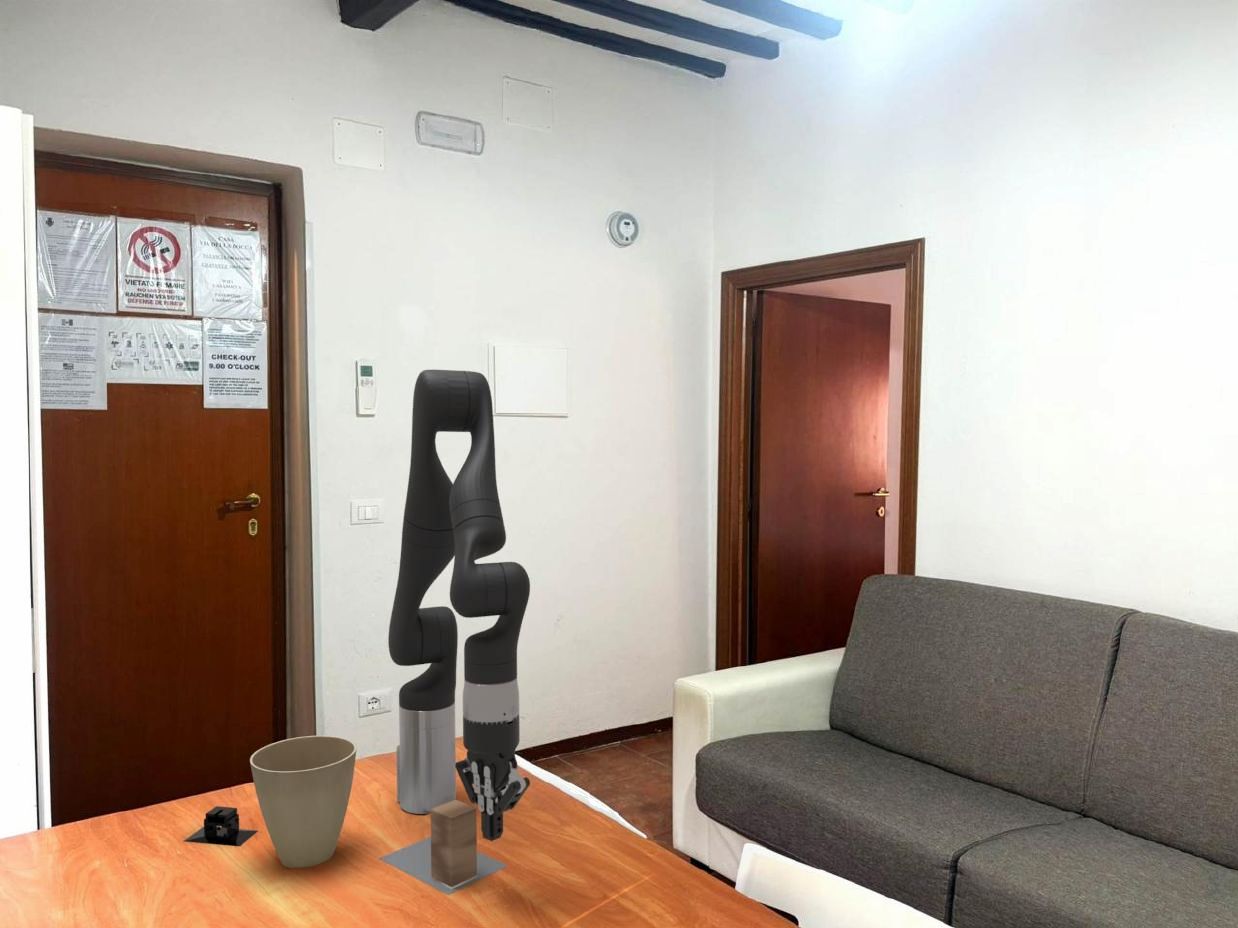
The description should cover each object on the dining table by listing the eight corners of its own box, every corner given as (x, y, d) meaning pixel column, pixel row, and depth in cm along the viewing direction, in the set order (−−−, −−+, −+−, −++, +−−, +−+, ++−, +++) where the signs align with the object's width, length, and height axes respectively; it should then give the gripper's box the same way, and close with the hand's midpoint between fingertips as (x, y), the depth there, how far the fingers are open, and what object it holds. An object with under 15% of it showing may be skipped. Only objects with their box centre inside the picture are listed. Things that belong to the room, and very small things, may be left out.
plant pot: (328, 826, 152) (326, 728, 151) (376, 857, 141) (375, 752, 140) (235, 857, 141) (232, 751, 140) (279, 893, 131) (277, 779, 130)
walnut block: (431, 878, 134) (430, 809, 133) (456, 867, 137) (455, 799, 137) (451, 889, 131) (451, 818, 130) (476, 877, 134) (476, 807, 134)
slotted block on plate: (171, 846, 146) (170, 816, 146) (200, 825, 153) (199, 797, 153) (245, 852, 144) (245, 823, 143) (271, 831, 151) (271, 803, 151)
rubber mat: (378, 860, 140) (378, 858, 140) (438, 835, 148) (438, 833, 148) (448, 897, 130) (448, 894, 130) (508, 868, 138) (508, 865, 138)
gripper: (437, 707, 129) (439, 833, 130) (503, 728, 120) (504, 862, 121) (480, 695, 135) (481, 815, 135) (545, 714, 126) (546, 842, 127)
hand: (492, 837), depth 128 cm, fingers closed
